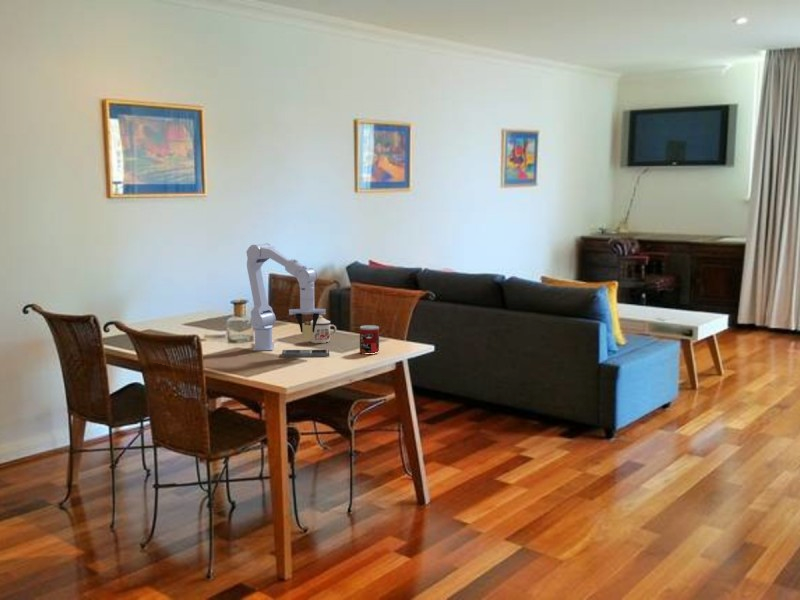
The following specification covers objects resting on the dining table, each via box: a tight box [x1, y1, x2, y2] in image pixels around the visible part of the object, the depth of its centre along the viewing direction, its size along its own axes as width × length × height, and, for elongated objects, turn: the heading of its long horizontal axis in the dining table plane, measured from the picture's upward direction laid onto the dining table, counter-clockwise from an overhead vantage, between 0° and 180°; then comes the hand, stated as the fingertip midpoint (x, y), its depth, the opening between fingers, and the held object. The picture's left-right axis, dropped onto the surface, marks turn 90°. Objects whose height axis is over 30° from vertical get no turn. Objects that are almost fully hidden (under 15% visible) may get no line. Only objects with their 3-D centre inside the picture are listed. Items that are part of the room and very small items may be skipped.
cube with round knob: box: [301, 321, 313, 341], centre depth 318 cm, size 4×4×7 cm
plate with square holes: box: [281, 348, 330, 358], centre depth 319 cm, size 7×19×2 cm, turn 95°
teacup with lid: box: [310, 315, 337, 344], centre depth 347 cm, size 12×9×12 cm
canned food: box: [359, 324, 380, 354], centre depth 324 cm, size 8×8×11 cm
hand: (307, 332), depth 318 cm, fingers closed on cube with round knob, 4 cm apart
